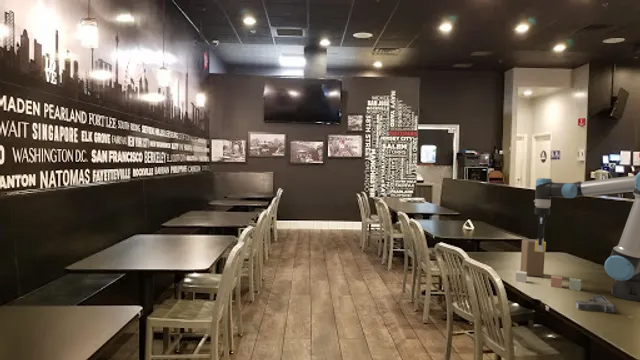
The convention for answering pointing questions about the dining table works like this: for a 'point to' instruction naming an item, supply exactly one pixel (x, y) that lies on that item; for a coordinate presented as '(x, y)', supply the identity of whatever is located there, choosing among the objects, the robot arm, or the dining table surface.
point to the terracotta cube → (556, 281)
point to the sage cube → (575, 284)
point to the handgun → (596, 304)
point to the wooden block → (531, 259)
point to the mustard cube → (543, 246)
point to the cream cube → (521, 276)
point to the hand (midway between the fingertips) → (540, 250)
